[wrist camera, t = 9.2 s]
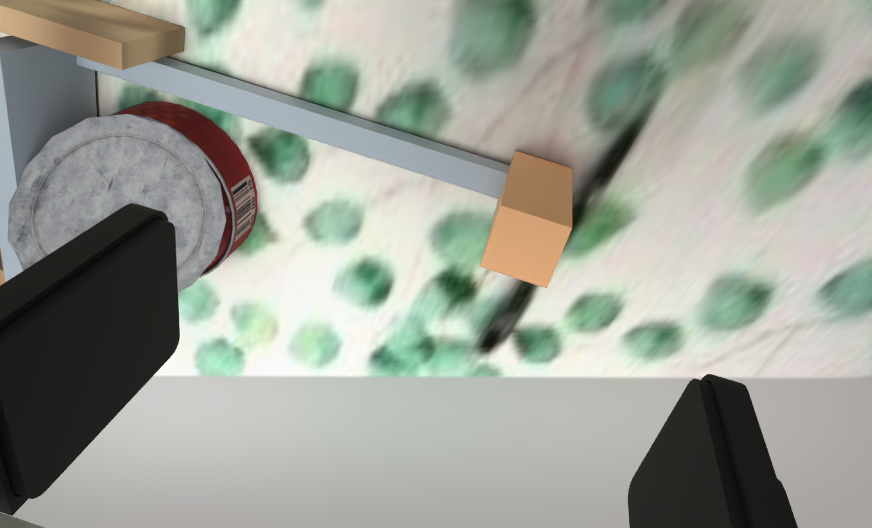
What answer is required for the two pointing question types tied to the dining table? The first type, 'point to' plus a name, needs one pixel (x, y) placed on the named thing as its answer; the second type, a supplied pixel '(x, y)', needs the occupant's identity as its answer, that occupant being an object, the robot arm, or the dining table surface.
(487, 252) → the pull rod
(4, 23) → the shelf lane
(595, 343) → the dining table surface
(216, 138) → the canned food
